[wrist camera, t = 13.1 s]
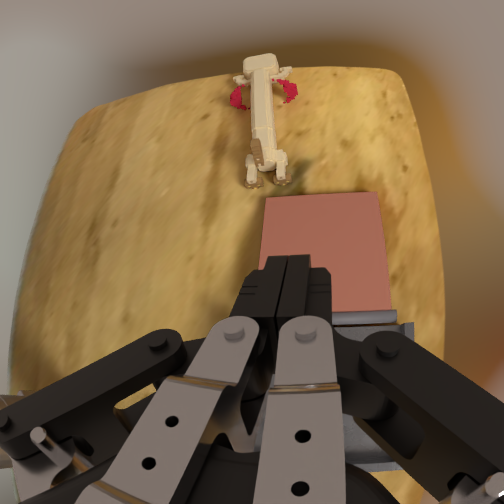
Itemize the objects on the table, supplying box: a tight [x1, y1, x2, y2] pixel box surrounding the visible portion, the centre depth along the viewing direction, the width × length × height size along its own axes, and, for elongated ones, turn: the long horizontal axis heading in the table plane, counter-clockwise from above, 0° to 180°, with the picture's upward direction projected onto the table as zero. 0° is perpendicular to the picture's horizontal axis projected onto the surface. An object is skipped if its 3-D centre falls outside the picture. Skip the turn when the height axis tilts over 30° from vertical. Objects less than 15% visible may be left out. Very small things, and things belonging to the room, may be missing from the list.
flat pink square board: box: [258, 192, 397, 325], centre depth 32 cm, size 2×14×15 cm
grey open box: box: [254, 322, 414, 472], centre depth 27 cm, size 14×17×5 cm
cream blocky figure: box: [230, 53, 298, 189], centre depth 39 cm, size 10×9×25 cm
